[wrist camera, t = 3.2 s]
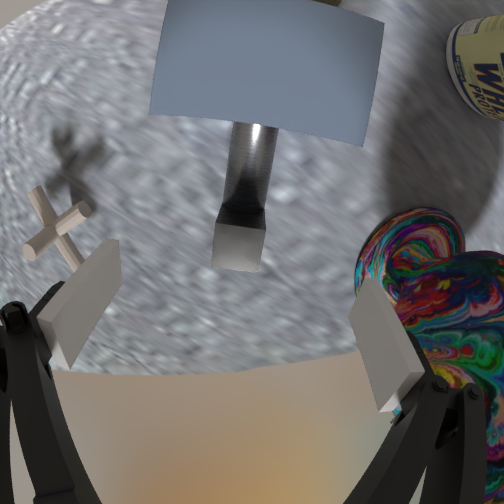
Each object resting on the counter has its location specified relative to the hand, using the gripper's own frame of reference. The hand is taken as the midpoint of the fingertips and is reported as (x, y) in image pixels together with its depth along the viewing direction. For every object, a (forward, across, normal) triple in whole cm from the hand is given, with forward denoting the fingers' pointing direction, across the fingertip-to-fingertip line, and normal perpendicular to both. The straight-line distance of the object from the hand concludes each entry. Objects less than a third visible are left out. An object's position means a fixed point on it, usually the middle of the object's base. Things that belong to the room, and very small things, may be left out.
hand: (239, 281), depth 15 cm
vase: (+16, +22, -6) cm, 27 cm away
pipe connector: (+15, -20, -4) cm, 25 cm away
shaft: (+11, 0, +10) cm, 15 cm away
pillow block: (+16, 0, +12) cm, 19 cm away
